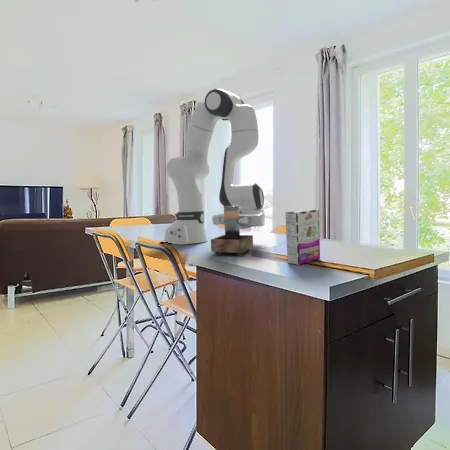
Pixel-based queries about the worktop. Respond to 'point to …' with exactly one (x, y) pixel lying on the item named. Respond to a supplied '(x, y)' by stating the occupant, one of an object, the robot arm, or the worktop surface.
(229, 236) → the slate tin
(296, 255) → the candy bar box
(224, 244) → the caster cart
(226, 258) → the worktop surface
